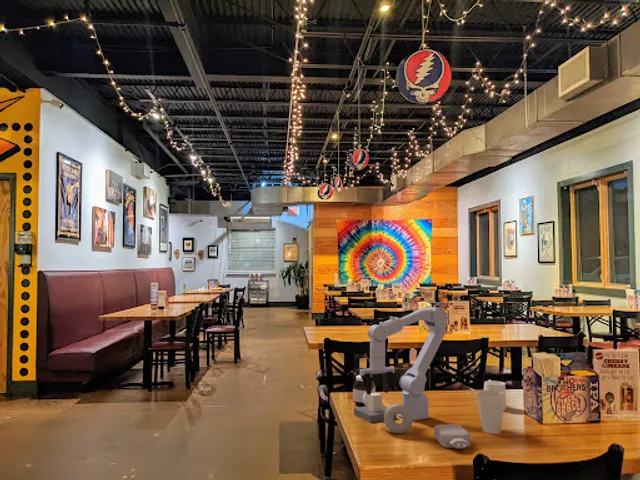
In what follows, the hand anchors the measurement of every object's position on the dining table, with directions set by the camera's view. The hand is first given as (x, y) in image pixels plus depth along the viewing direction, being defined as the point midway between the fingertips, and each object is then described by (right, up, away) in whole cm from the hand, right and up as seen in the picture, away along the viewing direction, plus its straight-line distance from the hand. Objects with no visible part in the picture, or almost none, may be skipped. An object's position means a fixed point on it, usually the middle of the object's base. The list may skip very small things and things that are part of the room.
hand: (377, 393), depth 189 cm
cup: (+51, -12, +19) cm, 56 cm away
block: (0, -8, +6) cm, 10 cm away
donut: (+6, -10, -15) cm, 19 cm away
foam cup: (+39, -10, -13) cm, 42 cm away
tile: (0, -11, +6) cm, 12 cm away
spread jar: (-2, -12, +23) cm, 26 cm away
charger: (+22, -9, -28) cm, 37 cm away
